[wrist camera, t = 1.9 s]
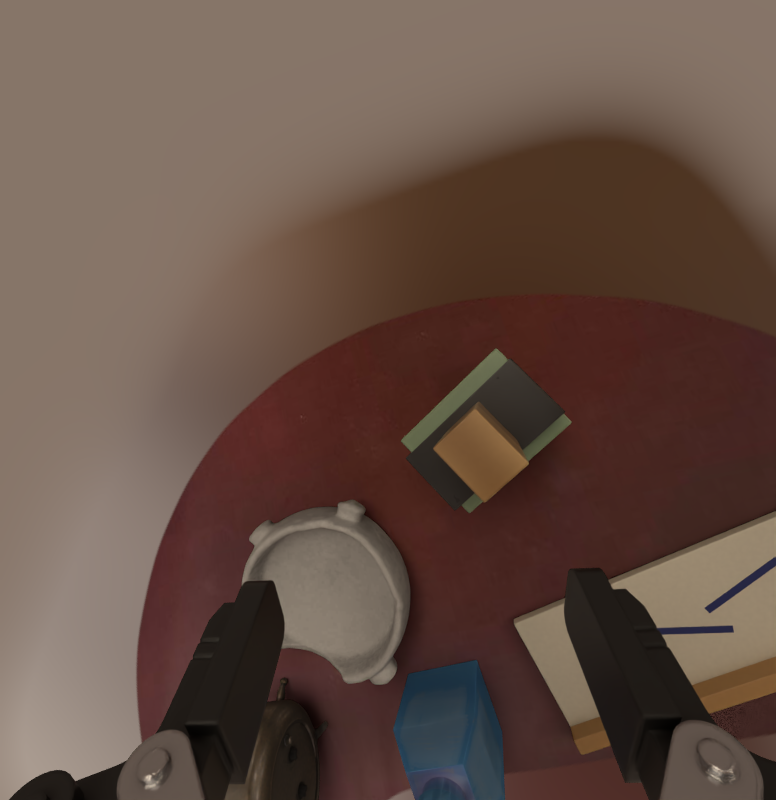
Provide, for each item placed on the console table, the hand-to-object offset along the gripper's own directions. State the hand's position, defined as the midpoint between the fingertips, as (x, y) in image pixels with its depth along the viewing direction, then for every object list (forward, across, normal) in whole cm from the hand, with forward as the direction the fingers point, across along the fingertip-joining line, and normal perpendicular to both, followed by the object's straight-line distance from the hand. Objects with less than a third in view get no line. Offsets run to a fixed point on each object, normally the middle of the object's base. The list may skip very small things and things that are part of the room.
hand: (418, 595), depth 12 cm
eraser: (+14, -4, +3) cm, 15 cm away
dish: (+20, +8, +20) cm, 29 cm away
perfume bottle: (+14, -2, +29) cm, 33 cm away
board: (+14, -20, +20) cm, 32 cm away
